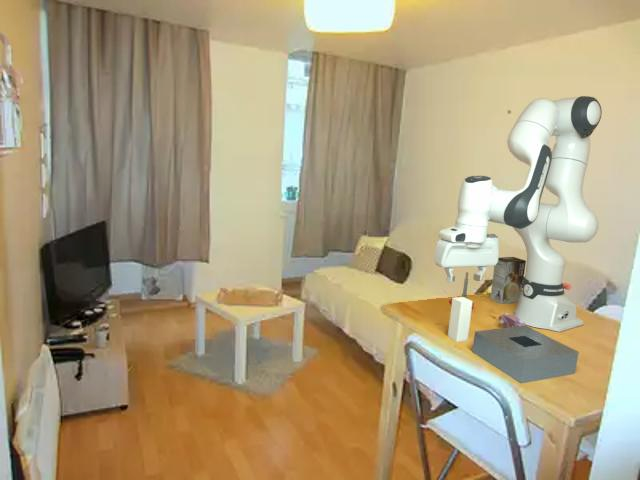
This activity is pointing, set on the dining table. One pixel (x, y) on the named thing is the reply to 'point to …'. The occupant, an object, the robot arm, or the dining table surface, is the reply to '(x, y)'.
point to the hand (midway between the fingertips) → (463, 281)
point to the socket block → (525, 353)
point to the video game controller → (510, 321)
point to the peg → (460, 319)
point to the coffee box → (507, 280)
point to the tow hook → (464, 289)
